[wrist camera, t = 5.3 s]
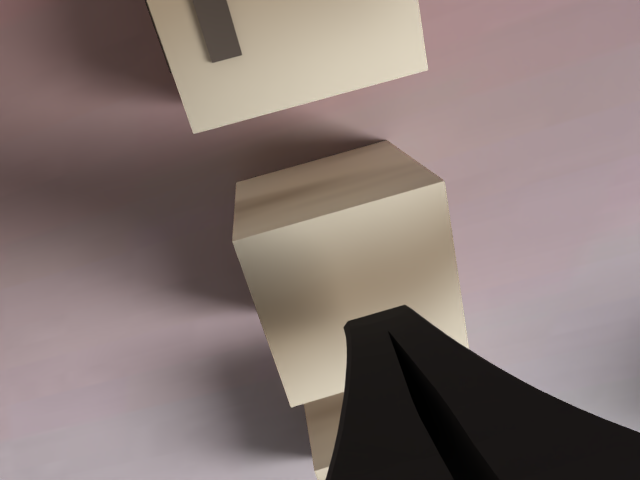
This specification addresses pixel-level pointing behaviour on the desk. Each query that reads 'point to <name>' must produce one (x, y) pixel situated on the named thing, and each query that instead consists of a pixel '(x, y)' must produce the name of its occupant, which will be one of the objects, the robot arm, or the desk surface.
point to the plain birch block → (343, 257)
